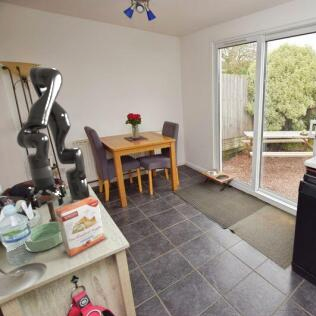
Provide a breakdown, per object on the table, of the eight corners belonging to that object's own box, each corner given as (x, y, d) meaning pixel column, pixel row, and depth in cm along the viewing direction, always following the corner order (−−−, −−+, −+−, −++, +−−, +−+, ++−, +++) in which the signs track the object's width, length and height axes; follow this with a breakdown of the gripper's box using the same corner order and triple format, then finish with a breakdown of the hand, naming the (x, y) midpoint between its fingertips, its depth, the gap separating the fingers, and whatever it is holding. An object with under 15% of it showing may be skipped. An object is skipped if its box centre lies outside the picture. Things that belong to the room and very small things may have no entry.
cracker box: (71, 257, 92) (60, 214, 85) (64, 251, 95) (53, 209, 88) (105, 239, 103) (98, 199, 96) (98, 234, 106) (91, 195, 99)
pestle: (52, 224, 111) (46, 199, 107) (62, 223, 113) (56, 198, 108) (49, 229, 108) (42, 204, 103) (59, 227, 109) (52, 203, 105)
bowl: (35, 234, 104) (32, 224, 102) (71, 229, 108) (69, 219, 107) (18, 255, 91) (14, 245, 89) (59, 249, 96) (56, 238, 94)
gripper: (64, 170, 107) (70, 200, 112) (27, 173, 102) (36, 204, 108) (57, 176, 100) (65, 208, 105) (18, 179, 96) (27, 212, 101)
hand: (50, 206), depth 106 cm, fingers open, 8 cm apart
